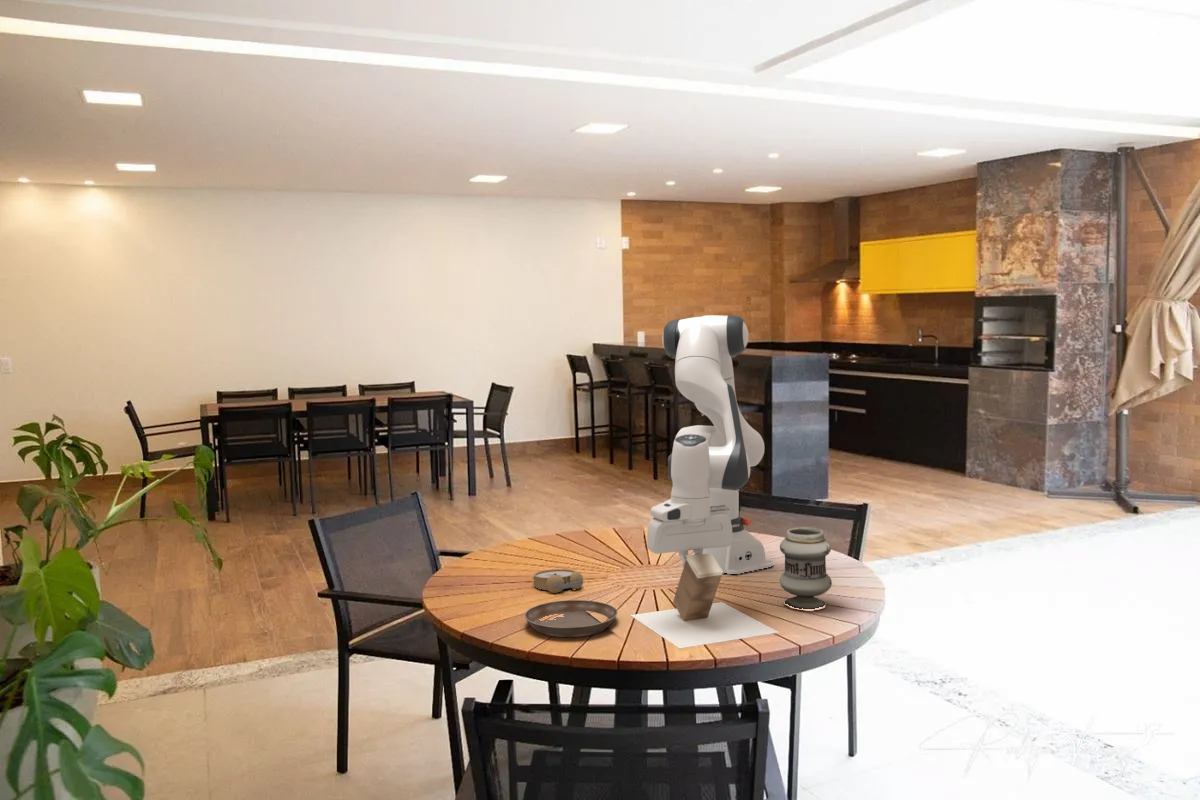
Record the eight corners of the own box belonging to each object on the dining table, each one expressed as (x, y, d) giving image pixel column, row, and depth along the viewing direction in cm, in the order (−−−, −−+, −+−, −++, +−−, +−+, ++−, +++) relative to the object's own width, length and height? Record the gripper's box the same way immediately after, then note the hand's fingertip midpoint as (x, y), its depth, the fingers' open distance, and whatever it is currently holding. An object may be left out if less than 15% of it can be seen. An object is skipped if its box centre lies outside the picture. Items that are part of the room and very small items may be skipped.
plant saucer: (512, 619, 211) (512, 605, 211) (595, 607, 219) (595, 594, 219) (544, 648, 192) (543, 632, 192) (633, 633, 201) (633, 618, 200)
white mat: (722, 605, 220) (721, 602, 220) (779, 636, 198) (779, 632, 198) (630, 618, 210) (630, 615, 210) (679, 652, 188) (679, 648, 188)
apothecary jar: (769, 601, 222) (769, 528, 221) (810, 595, 227) (811, 523, 226) (799, 615, 211) (799, 538, 210) (842, 609, 216) (842, 533, 215)
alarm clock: (563, 567, 246) (591, 569, 233) (565, 586, 245) (593, 589, 232) (525, 573, 240) (552, 576, 227) (527, 592, 239) (554, 596, 227)
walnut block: (696, 598, 212) (711, 553, 205) (707, 617, 208) (723, 571, 201) (673, 602, 210) (687, 555, 203) (683, 621, 206) (698, 574, 198)
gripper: (724, 502, 213) (723, 561, 214) (643, 509, 206) (644, 570, 207) (738, 506, 208) (738, 567, 209) (656, 514, 200) (656, 577, 201)
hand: (690, 569), depth 208 cm, fingers closed
